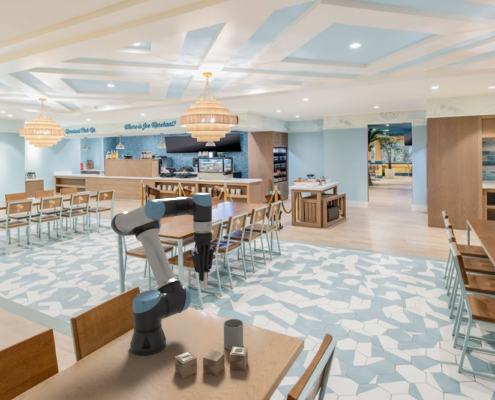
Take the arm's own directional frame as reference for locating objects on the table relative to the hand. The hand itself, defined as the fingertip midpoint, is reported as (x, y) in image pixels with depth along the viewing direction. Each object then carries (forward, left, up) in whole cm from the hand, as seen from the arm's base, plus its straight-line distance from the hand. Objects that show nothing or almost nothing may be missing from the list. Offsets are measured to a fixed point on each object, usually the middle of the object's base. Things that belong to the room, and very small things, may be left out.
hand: (203, 287), depth 142 cm
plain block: (+11, -7, -29) cm, 31 cm away
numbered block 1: (+3, -14, -29) cm, 32 cm away
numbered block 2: (+17, +1, -29) cm, 33 cm away
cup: (+6, +12, -29) cm, 32 cm away
